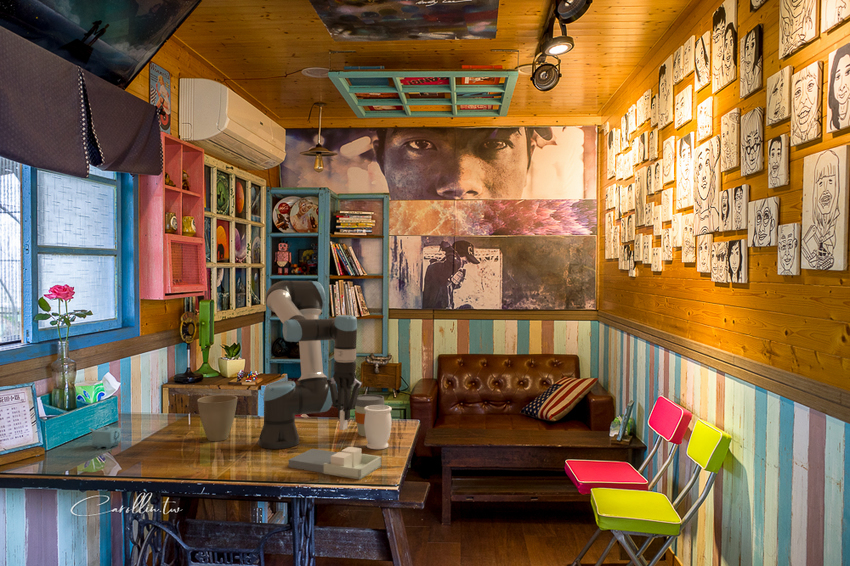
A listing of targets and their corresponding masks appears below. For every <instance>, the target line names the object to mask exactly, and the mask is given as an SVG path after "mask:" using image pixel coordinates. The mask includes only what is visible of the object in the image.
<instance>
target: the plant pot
mask: <svg viewBox="0 0 850 566" xmlns="http://www.w3.org/2000/svg"><path fill="white" fill-rule="evenodd" d="M237 403H238V396H236V395H232V394H215V395H206V396H202V397H200V398H197V407H198V414H199V417H200V421H201V425H202V427H203V430H204V431H203V432H204V433H205V436H206V438H207V441H210V442H221V441H225V440H227V439H228V437H229V435H230V433H231V429H232V426H233V423H234V419H235V415H236V409H237Z"/></svg>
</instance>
